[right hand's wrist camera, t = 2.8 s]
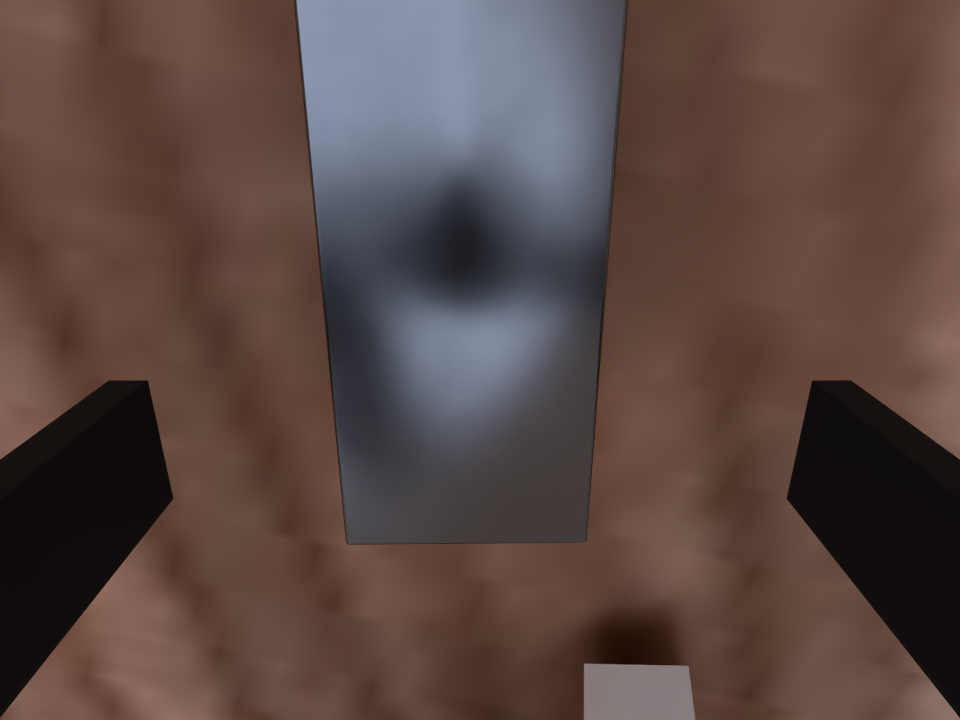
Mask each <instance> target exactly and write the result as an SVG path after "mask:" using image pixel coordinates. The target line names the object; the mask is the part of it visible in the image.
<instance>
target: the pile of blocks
mask: <svg viewBox="0 0 960 720" xmlns="http://www.w3.org/2000/svg"><path fill="white" fill-rule="evenodd" d="M584 720H695V712H694V704H693V697H692V689H691V681H690V674H689V666H670V665H624V664H584Z"/></svg>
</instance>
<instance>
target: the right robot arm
mask: <svg viewBox="0 0 960 720" xmlns="http://www.w3.org/2000/svg"><path fill="white" fill-rule="evenodd" d="M172 500H173V495H172V491H171V486H170V481H169V477H168V472H167V467H166V463H165V458H164V454H163V449H162V444H161V440H160V435H159V430H158V426H157V421H156V417H155V412H154V407H153V403H152V398H151V393H150V389H149V384H148V381H108V382H106V383H105V384H104V385H102V386H101V387H99V388H98V389H97V390H95V391H94V392H93V393H91V394H90V395H88V396H87V397H86V398H84V399H83V400H82V401H80V402H79V403H77V404H76V405H75V406H73V407H72V408H71V409H69V410H68V411H66V412H65V413H64V414H62V415H61V416H60V417H58V418H57V419H55V420H54V421H53V422H51V423H50V424H49V425H47V426H46V427H44V428H43V429H42V430H40V431H39V432H38V433H36V434H35V435H33V436H32V437H31V438H29V439H28V440H27V441H25V442H24V443H22V444H21V445H20V446H18V447H17V448H16V449H14V450H13V451H12V452H10V453H9V454H7V455H6V456H5V457H3V458H2V459H1V460H0V717H1V716H2V715H3V713H4V712H5V711H6V710H7V708H8V707H9V706H10V705H11V703H12V702H13V701H14V700H15V698H16V697H17V696H18V694H19V693H20V692H21V691H22V689H23V688H24V687H25V686H26V684H27V683H28V682H29V681H30V679H31V678H32V677H33V675H34V674H35V673H36V672H37V670H38V669H39V668H40V667H41V665H42V664H43V663H44V662H45V660H46V659H47V658H48V656H49V655H50V654H51V653H52V651H53V650H54V649H55V648H56V646H57V645H58V644H59V643H60V641H61V640H62V639H63V638H64V636H65V635H66V634H67V632H68V631H69V630H70V629H71V627H72V626H73V625H74V624H75V622H76V621H77V620H78V619H79V617H80V616H81V615H82V613H83V612H84V611H85V610H86V608H87V607H88V606H89V605H90V603H91V602H92V601H93V600H94V598H95V597H96V596H97V594H98V593H99V592H100V591H101V589H102V588H103V587H104V586H105V584H106V583H107V582H108V581H109V579H110V578H111V577H112V576H113V574H114V573H115V572H116V570H117V569H118V568H119V567H120V565H121V564H122V563H123V562H124V560H125V559H126V558H127V557H128V555H129V554H130V553H131V551H132V550H133V549H134V548H135V546H136V545H137V544H138V543H139V541H140V540H141V539H142V538H143V536H144V535H145V534H146V532H147V531H148V530H149V529H150V527H151V526H152V525H153V524H154V522H155V521H156V520H157V519H158V517H159V516H160V515H161V514H162V512H163V511H164V510H165V508H166V507H167V506H168V505H169V503H170V502H171V501H172ZM787 500H788V501H789V502H790V503H791V505H792V506H793V507H794V508H795V510H796V511H797V512H798V514H799V515H800V516H801V517H802V519H803V520H804V521H805V522H806V524H807V525H808V526H809V527H810V529H811V530H812V531H813V532H814V534H815V535H816V536H817V538H818V539H819V540H820V541H821V543H822V544H823V545H824V546H825V548H826V549H827V550H828V551H829V553H830V554H831V555H832V557H833V558H834V559H835V560H836V562H837V563H838V564H839V565H840V567H841V568H842V569H843V570H844V572H845V573H846V574H847V576H848V577H849V578H850V579H851V581H852V582H853V583H854V584H855V586H856V587H857V588H858V589H859V591H860V592H861V593H862V594H863V596H864V597H865V598H866V600H867V601H868V602H869V603H870V605H871V606H872V607H873V608H874V610H875V611H876V612H877V613H878V615H879V616H880V617H881V619H882V620H883V621H884V622H885V624H886V625H887V626H888V627H889V629H890V630H891V631H892V632H893V634H894V635H895V636H896V638H897V639H898V640H899V641H900V643H901V644H902V645H903V646H904V648H905V649H906V650H907V651H908V653H909V654H910V655H911V656H912V658H913V659H914V660H915V662H916V663H917V664H918V665H919V667H920V668H921V669H922V670H923V672H924V673H925V674H926V675H927V677H928V678H929V679H930V681H931V682H932V683H933V684H934V686H935V687H936V688H937V689H938V691H939V692H940V693H941V694H942V696H943V697H944V698H945V700H946V701H947V702H948V703H949V705H950V706H951V707H952V708H953V710H954V711H955V712H956V713H957V715H958V716H959V717H960V460H959V459H958V458H957V457H955V456H954V455H953V454H951V453H950V452H948V451H947V450H946V449H944V448H943V447H942V446H940V445H939V444H937V443H936V442H935V441H933V440H932V439H931V438H929V437H928V436H927V435H925V434H924V433H922V432H921V431H920V430H918V429H917V428H916V427H914V426H913V425H911V424H910V423H909V422H907V421H906V420H905V419H903V418H902V417H900V416H899V415H898V414H896V413H895V412H894V411H892V410H891V409H889V408H888V407H887V406H885V405H884V404H883V403H881V402H880V401H878V400H877V399H876V398H874V397H873V396H872V395H870V394H869V393H867V392H866V391H865V390H863V389H862V388H861V387H859V386H858V385H856V384H855V383H854V382H852V381H812V384H811V389H810V393H809V398H808V403H807V407H806V412H805V417H804V421H803V426H802V430H801V435H800V440H799V444H798V449H797V454H796V458H795V463H794V467H793V472H792V477H791V481H790V486H789V491H788V495H787Z"/></svg>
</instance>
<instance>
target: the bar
mask: <svg viewBox="0 0 960 720" xmlns="http://www.w3.org/2000/svg"><path fill="white" fill-rule="evenodd" d="M294 8H295V18H296V29H297V39H298V50H299V60H300V70H301V81H302V91H303V101H304V112H305V122H306V132H307V143H308V153H309V163H310V174H311V184H312V194H313V205H314V215H315V225H316V236H317V246H318V257H319V267H320V277H321V288H322V298H323V308H324V319H325V329H326V339H327V350H328V360H329V370H330V381H331V391H332V401H333V412H334V422H335V432H336V443H337V453H338V463H339V474H340V484H341V495H342V505H343V515H344V526H345V536H346V542H347V544H349V545H356V544H467V543H579V542H586V539H587V528H588V515H589V502H590V489H591V476H592V463H593V450H594V437H595V424H596V411H597V398H598V385H599V372H600V359H601V346H602V333H603V320H604V307H605V294H606V281H607V268H608V255H609V242H610V229H611V216H612V203H613V190H614V177H615V164H616V151H617V138H618V125H619V112H620V99H621V86H622V73H623V60H624V47H625V34H626V21H627V8H628V0H294Z"/></svg>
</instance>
